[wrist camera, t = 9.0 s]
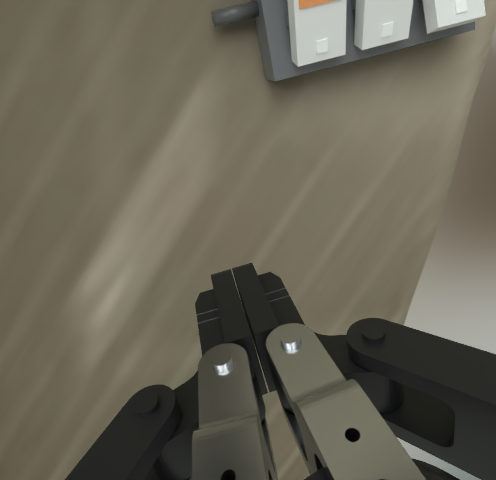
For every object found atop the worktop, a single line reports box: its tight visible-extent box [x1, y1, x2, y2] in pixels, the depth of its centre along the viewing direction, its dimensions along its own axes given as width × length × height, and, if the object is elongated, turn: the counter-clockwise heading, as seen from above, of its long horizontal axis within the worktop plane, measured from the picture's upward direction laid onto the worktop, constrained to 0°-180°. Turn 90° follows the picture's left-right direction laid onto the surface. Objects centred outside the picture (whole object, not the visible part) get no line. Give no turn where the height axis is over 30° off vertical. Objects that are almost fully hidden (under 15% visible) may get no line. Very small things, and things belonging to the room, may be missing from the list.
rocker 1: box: [287, 0, 347, 67], centre depth 32 cm, size 7×4×2 cm, turn 12°
